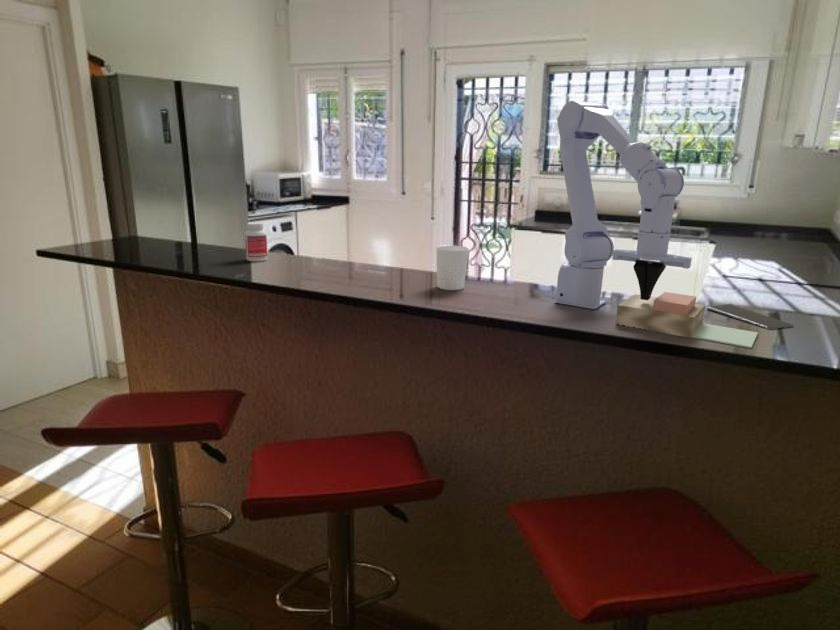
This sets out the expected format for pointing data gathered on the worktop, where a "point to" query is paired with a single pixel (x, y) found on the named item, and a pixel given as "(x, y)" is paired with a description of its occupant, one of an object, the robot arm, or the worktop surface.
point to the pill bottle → (256, 242)
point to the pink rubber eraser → (674, 303)
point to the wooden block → (658, 317)
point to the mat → (725, 335)
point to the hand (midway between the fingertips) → (645, 299)
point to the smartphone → (749, 316)
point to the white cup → (451, 267)
